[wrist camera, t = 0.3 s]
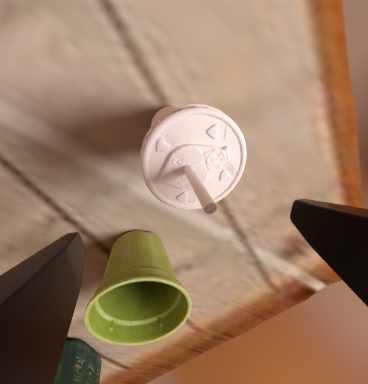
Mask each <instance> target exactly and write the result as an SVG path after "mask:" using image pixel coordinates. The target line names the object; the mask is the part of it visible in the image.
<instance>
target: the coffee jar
mask: <svg viewBox="0 0 368 384" xmlns="http://www.w3.org/2000/svg"><path fill="white" fill-rule="evenodd" d="M100 371H101V358H100V356H99V355H98V353H97V352H96V351H95V350H94V349H93V348H92V347H91V346H89V345H88V344H87V343H85V342H83V341H81V340H67V341H66V342H65V345H64V349H63V352H62V356H61V359H60V363H59V366H58V370H57V373H56V377H55V380H54V384H99V379H100Z"/></svg>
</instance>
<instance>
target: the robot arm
mask: <svg viewBox="0 0 368 384" xmlns="http://www.w3.org/2000/svg"><path fill="white" fill-rule="evenodd" d="M290 219H291V221H292V223H293V224H294V225H295V227H296V228H297V229H298V231H299V232H300V233H301V234H302V236H303V237H304V238H305V240H306V241H307V242H308V243H309V245H310V246H311V247H312V248H313V249H314V250H315V251H316V252H317V253H318V254H319V256H320V257H321V258H322V259H323V260H324V261H325V262H326V263H327V264H328V265H329V266H330V267H331V268H332V269H333V270H334V271H335V273H336V274H337V275H338V276H339V277H340V278H341V279H342V280H343V281H344V282H345V283H346V284H347V285H348V286H349V287H350V288H351V290H353V292H354V293H355V294H356V295H357V296H358V297H359V298H360V299H361V300H362V301H363V302H364V303H365V304H366V305H367V306H368V209H364V208H357V207H351V206H345V205H339V204H333V203H327V202H320V201H314V200H308V199H299V200H295V201H294V202H293V206H292V210H291V214H290ZM84 261H85V247H84V244H83V241H82V238H81V235H80V234H79V233H78V232H75V233H68V234H66V235H64V236H63V237H61V238H60V239H58V240H56V241H55V242H53V243H52V244H50V245H48V246H47V247H45V248H44V249H42V250H40V251H39V252H37V253H36V254H34V255H32V256H31V257H29V258H28V259H26V260H24V261H23V262H21V263H20V264H18V265H16V266H15V267H13V268H12V269H10V270H8V271H7V272H5V273H4V274H2V275H0V384H54V380H55V377H56V373H57V370H58V366H59V363H60V359H61V356H62V352H63V349H64V345H65V342H66V338H67V334H68V331H69V327H70V324H71V320H72V317H73V313H74V310H75V306H76V303H77V299H78V295H79V292H80V288H81V282H82V275H83V268H84Z"/></svg>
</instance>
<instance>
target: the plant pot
mask: <svg viewBox="0 0 368 384" xmlns="http://www.w3.org/2000/svg"><path fill="white" fill-rule="evenodd" d="M190 312H191V299H190V296H189V294H188V292H187V291H186V290H185V288H184V287H182V286H181V284H180V282H179V281H178V280H177V279H176V277H175V274H174V272H173V269H172V267H171V264H170V261H169V259H168V256H167V254H166V251H165V248H164V246H163V243H162V241H161V239H160V238H159V237H158V236H157V235H156V234H154V233H152V232H144V231H141V230H135V231H130V232H127V233H125V234H123V235H122V236H120V237H119V238H118V239H117V240H116V241H115V243H114V245H113V247H112V250H111V253H110V257H109V260H108V263H107V266H106V269H105V273H104V276H103V279H102V281H101V284H100V286H99V288H98V289H97V291H96V293H95V295H94V297H93V298H92V299H91V300H90V301H89V303H88V305H87V307H86V310H85V313H84V323H85V326H86V328H87V330H88V331H89V332H90V333H91V334H92V335H93V336H94V337H96V338H97V339H99V340H101V341H103V342H106V343H110V344H115V345H125V346H133V345H134V346H135V345H142V344H147V343H151V342H154V341H158V340H160V339H163V338H165V337H167V336H169V335H171V334H172V333H174V332H175V331H176V330H178V329H179V328H180V327H181V326H182V325H183V324H184V322H185V321H186V320H187V318H188V317H189V314H190Z"/></svg>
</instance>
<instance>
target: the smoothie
mask: <svg viewBox="0 0 368 384" xmlns="http://www.w3.org/2000/svg"><path fill="white" fill-rule="evenodd" d="M245 163H246V144H245V140H244V137H243V134H242V132H241V130H240V129H239V127H238V126H237V125H236V123H235V122H234V121H233V120H232V119H231V118H229V117H228V116H227V115H225V114H224V113H223V112H221V111H220V110H219V109H216V108H213V107H210V106H208V105H202V104H188V105H184V106H180V107H174V106H168V107H164V108H162V109H160V110H159V111H158V112H157V113H156V114H155V115H154V117H153V119H152V122H151V127H150V129H149V131H148V132H147V134H146V136H145V138H144V140H143V144H142V147H141V151H140V167H141V170H142V173H143V177H144V180H145V183H146V185H147V187H148V188H149V190H150V191H151V193H152V194H153V195H154V196H155V197H156V198H157V199H159V200H160V201H161V202H163V203H165V204H167V205H169V206H171V207H174V208H178V209H187V210H190V209H199V208H203V209H204V211H205V213H207V214H212V213H214V212H215V211H216V209H217V206H216V204H215V203H216V202H218V201H219V200H221V199H222V198H223V197H225V196H226V195H227V194H228V193H229V192H230V191H231V190H232V189H233V188H234V187H235V185H236V184H237V182H238V181H239V179H240V177H241V175H242V173H243V170H244V167H245Z"/></svg>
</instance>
